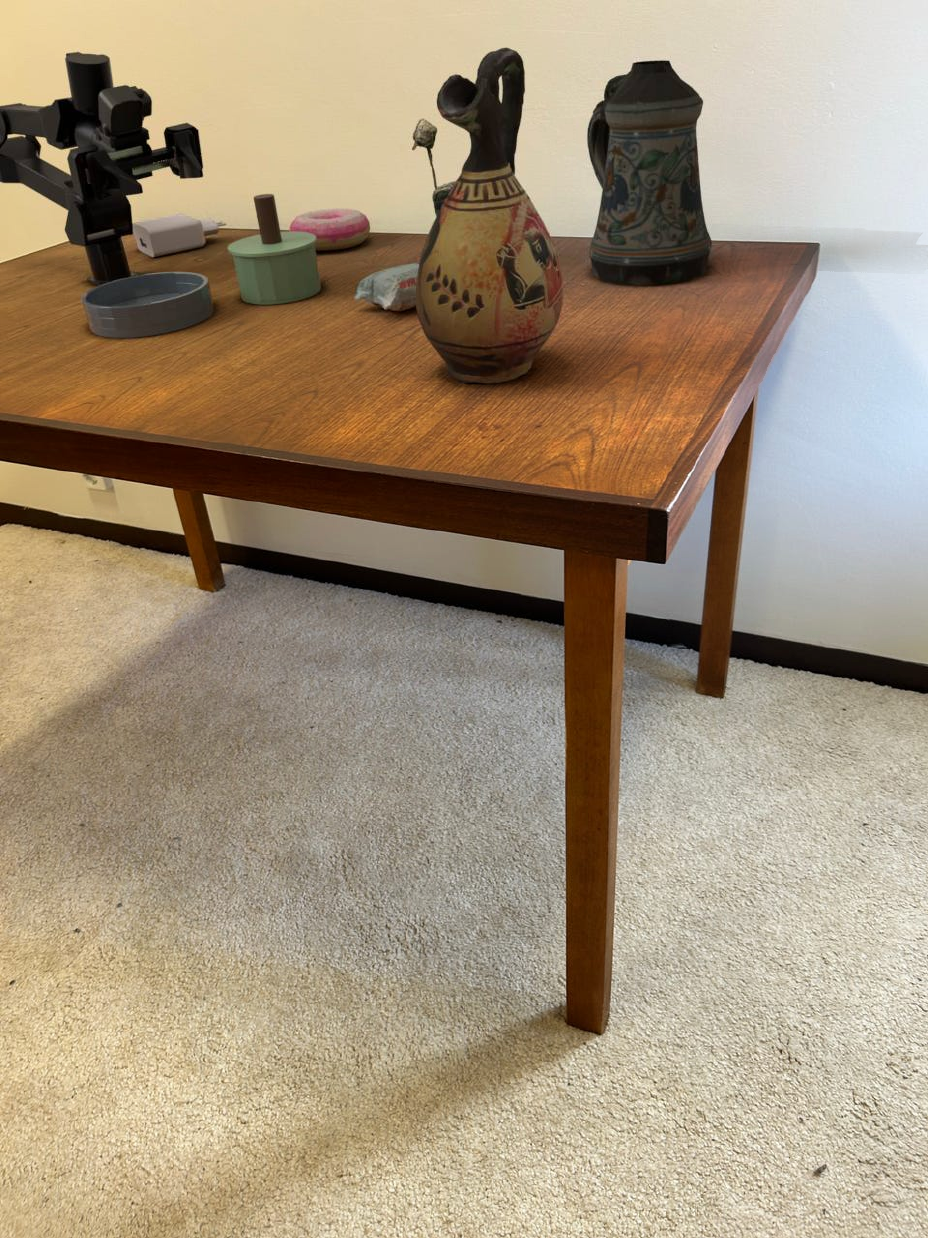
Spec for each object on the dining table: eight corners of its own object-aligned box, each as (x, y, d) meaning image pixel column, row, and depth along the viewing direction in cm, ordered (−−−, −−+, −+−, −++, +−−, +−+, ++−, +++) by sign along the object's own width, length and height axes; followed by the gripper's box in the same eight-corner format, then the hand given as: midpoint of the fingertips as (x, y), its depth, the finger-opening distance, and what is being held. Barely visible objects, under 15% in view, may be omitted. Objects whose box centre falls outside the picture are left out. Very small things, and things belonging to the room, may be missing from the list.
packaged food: (462, 301, 125) (459, 263, 122) (387, 323, 120) (382, 283, 117) (426, 290, 131) (422, 253, 128) (353, 310, 126) (347, 272, 123)
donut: (367, 252, 152) (363, 219, 149) (285, 258, 153) (280, 225, 150) (375, 232, 163) (371, 202, 160) (299, 238, 164) (294, 208, 161)
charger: (237, 241, 166) (154, 258, 160) (217, 233, 173) (138, 249, 166) (231, 212, 163) (147, 229, 157) (212, 205, 170) (130, 221, 164)
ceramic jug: (521, 404, 94) (505, 58, 77) (396, 384, 102) (357, 64, 85) (594, 349, 106) (595, 37, 89) (477, 335, 113) (457, 44, 96)
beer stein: (686, 290, 122) (699, 67, 108) (550, 280, 130) (545, 73, 116) (725, 257, 133) (741, 52, 119) (598, 250, 142) (599, 58, 128)
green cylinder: (228, 294, 137) (218, 248, 133) (296, 277, 142) (288, 232, 139) (264, 309, 129) (255, 260, 126) (335, 290, 135) (328, 242, 131)
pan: (73, 321, 132) (64, 292, 130) (184, 293, 140) (177, 265, 137) (116, 346, 120) (107, 315, 118) (234, 314, 128) (228, 284, 126)
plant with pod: (464, 278, 135) (452, 122, 123) (409, 268, 141) (393, 119, 130) (501, 264, 139) (493, 112, 128) (446, 256, 146) (434, 110, 135)
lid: (214, 253, 134) (202, 199, 130) (290, 235, 140) (281, 183, 136) (254, 266, 125) (243, 209, 121) (333, 247, 131) (325, 192, 127)
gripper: (32, 93, 122) (94, 130, 114) (159, 69, 131) (224, 101, 124) (53, 182, 130) (113, 221, 122) (171, 153, 139) (233, 188, 132)
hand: (172, 180), depth 125 cm, fingers open, 9 cm apart
